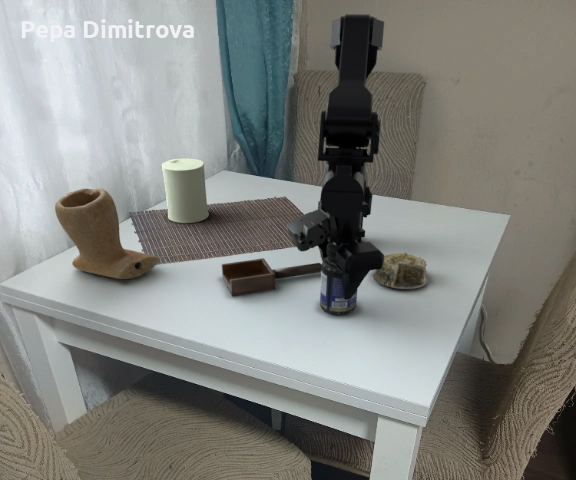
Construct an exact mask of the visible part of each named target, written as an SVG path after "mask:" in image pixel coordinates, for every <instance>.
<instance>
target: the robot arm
mask: <svg viewBox="0 0 576 480" xmlns="http://www.w3.org/2000/svg"><path fill="white" fill-rule="evenodd" d="M330 25H331V26H330V44H329V47H330V50H331V51H332V50H333V51H334V65H335V67H336V69H337V71H338V78H337V85H336V86H335V87H334V88H333V89H332V90H331V91H330V92H328V94H327V101H326V108H325V109H326V110H321V113H320V125H319V137H318V151H317V161H318V162H325V176H324V179H323V182H322V187H321V190H320V198H319V200H318V202H317V209H315V210H313V211H309V212H306V213H305V214H302V215H300V216H299V217H296V218H294V219H293V220H290V221H289V222H288V223H287V224H286V228H287V231H288V234H289V236H290V238H291V242H292V245H294V246H295V248H297V250H298V251H299V252H307V251H309V250H311V249H314V248H316V247H318V250H319V254H320V257H321V263H322V262H323V260H324V259H325V258H326V257H327V256H328V255H327V253H326V252H327V245H328V244H329V243H333V244H334V245H339V246H340V247H341V248H340V249H339V250H338V251H337V254H336V259H337V262H336V263H334V265H335V266H336V267H337V268H338V269H339V270H340V271H341V272H342V284H343V295H344V299H345V300H349V299H351V298H352V296H353V295H354V293H355V292H356V290H357V291H358V288H359V287H360V285H361V284H362V282H363V281H364V279H365V278H366V277H367V275H369V273H370V272H371V271H376V270H377V269H382V268H383V264H384V256H385V254H384V253H383V252H382V251H381V250H380V249H379V248H377V246H375V245H374V244H373V243H372V242H371V241H364V240H363V239H362V238H366V230H365V229H364V227H363V226H364V218H368V216H370V215H371V212H372V204H373V195H374V194H373V192H371V189H370V188H371V187H370V185H367V179H368V178H367V175H368V174H367V172H366V167H367V163H369V164H372V163H374V155H379V147H380V133H381V120H380V119H379V114H378V112H377V111H373V101H374V99H373V98H374V95H373V94H372V92H371V91H370V89H368V88H367V87H366V86H367V85H366V84H367V79H368V78H369V76H370V75H371V73H372V71H373V70H374V68H375V67H376V65H377V61H378V51H382V50H383V43H384V31H385V21H383V20H381V19H378V17H375V16H372V15H371V14H369V13H345V14H344V15H340V17H339V18H338V19H334V20H331V24H330ZM325 145H326V146H327V147H325V148H324V146H325ZM368 147H369V153H368V149H367V148H368ZM324 149H325V150H324Z"/></svg>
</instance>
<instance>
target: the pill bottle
mask: <svg viewBox="0 0 576 480" xmlns="http://www.w3.org/2000/svg"><path fill="white" fill-rule="evenodd" d="M340 248H341V247H340V246H339V245H334V244H333V243H329V244H328V245H327V252H326V253H327V255H328V256H327V257H326V258H325V259H324V260H323V262H322V261H321V264H322V268H321V272H320V292H319V293H320V295H319V296H320V297H319V306H320V309H321V310H322V311H324V312H325V313H327V314H330V315H333V316H334V315H335V316H345V315H349V314H351V313H352V312H354V311H355V310H356V307H357V300H358V289H357V290H356V292H355V293H354V295H353V296H352V298H351V299H349V300H345V299H344V295H343V284H342V272H341V271H340V270H339V269H338V268H337V267H336V266H335V265H334V263H336V262H337V259H336V254H337V251H338V250H339V249H340Z"/></svg>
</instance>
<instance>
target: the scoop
mask: <svg viewBox="0 0 576 480" xmlns="http://www.w3.org/2000/svg"><path fill="white" fill-rule="evenodd" d="M321 268H322V262H314V263H308V264H301V265H300V264H299V265H293V266H288V267H281V268H274V269H272V267H271V266H270V265H269V263H268V262H267V261H266V260H265V258H257V259H256V258H255V259H249V260H242V261H241V260H240V261H235V262H234V261H233V262H228V263H221V274H222V276H221V277H222V280H223V282H224V284H225V286H226V288H227V290H228V291H229V293H230V295H231V297H235V296H242V295H248V294H255V293H256V294H257V293H262V292H269V291H273V290H276V280H280V279H285V278H287V279H288V278H294V277H300V276H306V275H312V274H319V273H320V274H321Z"/></svg>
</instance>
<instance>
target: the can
mask: <svg viewBox="0 0 576 480" xmlns="http://www.w3.org/2000/svg"><path fill="white" fill-rule="evenodd" d="M161 169H162V176H163V183H164V190H165V197H166V205H167V206H166V207H167V219H168V220H170V221H171V222H174V223H176V224H177V223H178V224H195V223H199V222H202V221H204V220H207V218H209V215H210V213H209V210H208V209H209V208H208V199H207V188H206V175H205V162H204V161H203V160H201V159H197V158H191V157H188V158H187V157H181V158H173V159H169V160H166V161H164V162H162V163H161Z"/></svg>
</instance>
